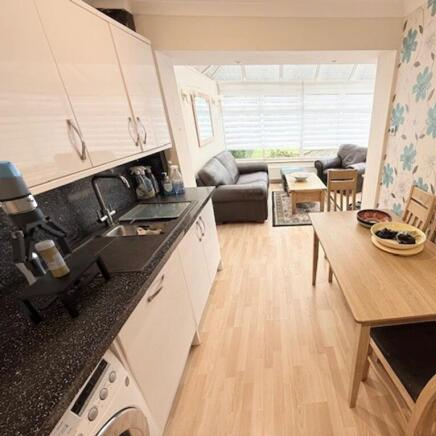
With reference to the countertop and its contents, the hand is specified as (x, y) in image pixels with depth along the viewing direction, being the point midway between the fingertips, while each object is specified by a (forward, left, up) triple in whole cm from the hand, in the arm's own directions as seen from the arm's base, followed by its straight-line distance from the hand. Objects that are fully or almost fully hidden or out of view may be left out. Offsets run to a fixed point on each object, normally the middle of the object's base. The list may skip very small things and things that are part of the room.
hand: (55, 264), depth 86 cm
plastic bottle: (-19, +10, -17) cm, 27 cm away
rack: (0, 0, -16) cm, 17 cm away
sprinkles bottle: (0, 0, -5) cm, 5 cm away
